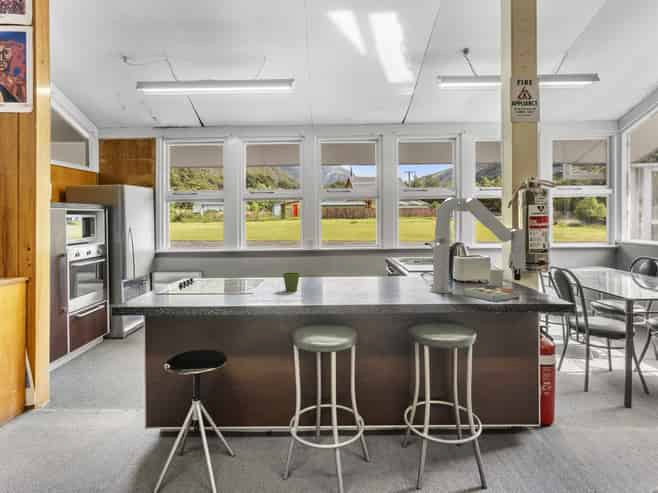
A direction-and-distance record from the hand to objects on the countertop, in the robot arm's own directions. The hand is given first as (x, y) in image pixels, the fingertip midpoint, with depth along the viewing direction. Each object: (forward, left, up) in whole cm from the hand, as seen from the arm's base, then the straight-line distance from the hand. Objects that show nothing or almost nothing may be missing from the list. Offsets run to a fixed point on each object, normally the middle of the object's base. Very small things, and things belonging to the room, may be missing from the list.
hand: (517, 280), depth 246 cm
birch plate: (-6, -10, -9) cm, 15 cm away
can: (-27, +16, -10) cm, 33 cm away
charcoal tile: (-12, -8, -6) cm, 16 cm away
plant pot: (-84, -110, -10) cm, 139 cm away
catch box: (-6, -21, -9) cm, 24 cm away
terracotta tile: (0, -8, -6) cm, 11 cm away
